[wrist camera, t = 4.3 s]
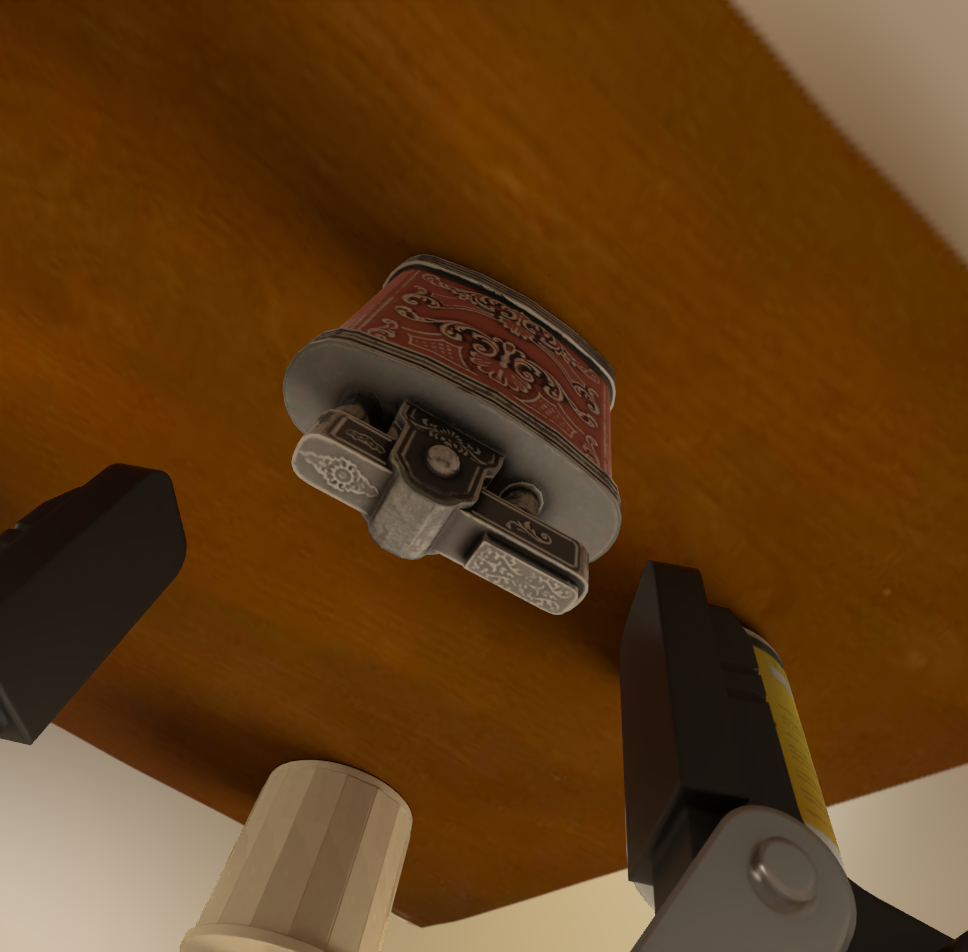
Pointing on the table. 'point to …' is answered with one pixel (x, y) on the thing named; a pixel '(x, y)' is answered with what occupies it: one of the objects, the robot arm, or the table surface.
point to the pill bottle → (785, 751)
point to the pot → (317, 858)
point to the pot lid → (240, 940)
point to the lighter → (464, 430)
